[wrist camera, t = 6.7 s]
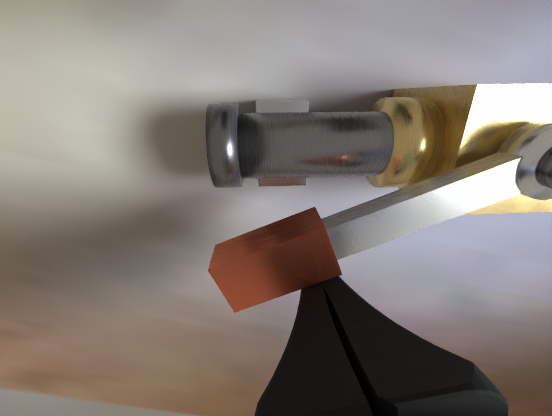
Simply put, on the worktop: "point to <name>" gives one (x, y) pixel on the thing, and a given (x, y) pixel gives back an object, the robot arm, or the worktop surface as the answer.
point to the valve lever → (376, 221)
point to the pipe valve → (375, 137)
